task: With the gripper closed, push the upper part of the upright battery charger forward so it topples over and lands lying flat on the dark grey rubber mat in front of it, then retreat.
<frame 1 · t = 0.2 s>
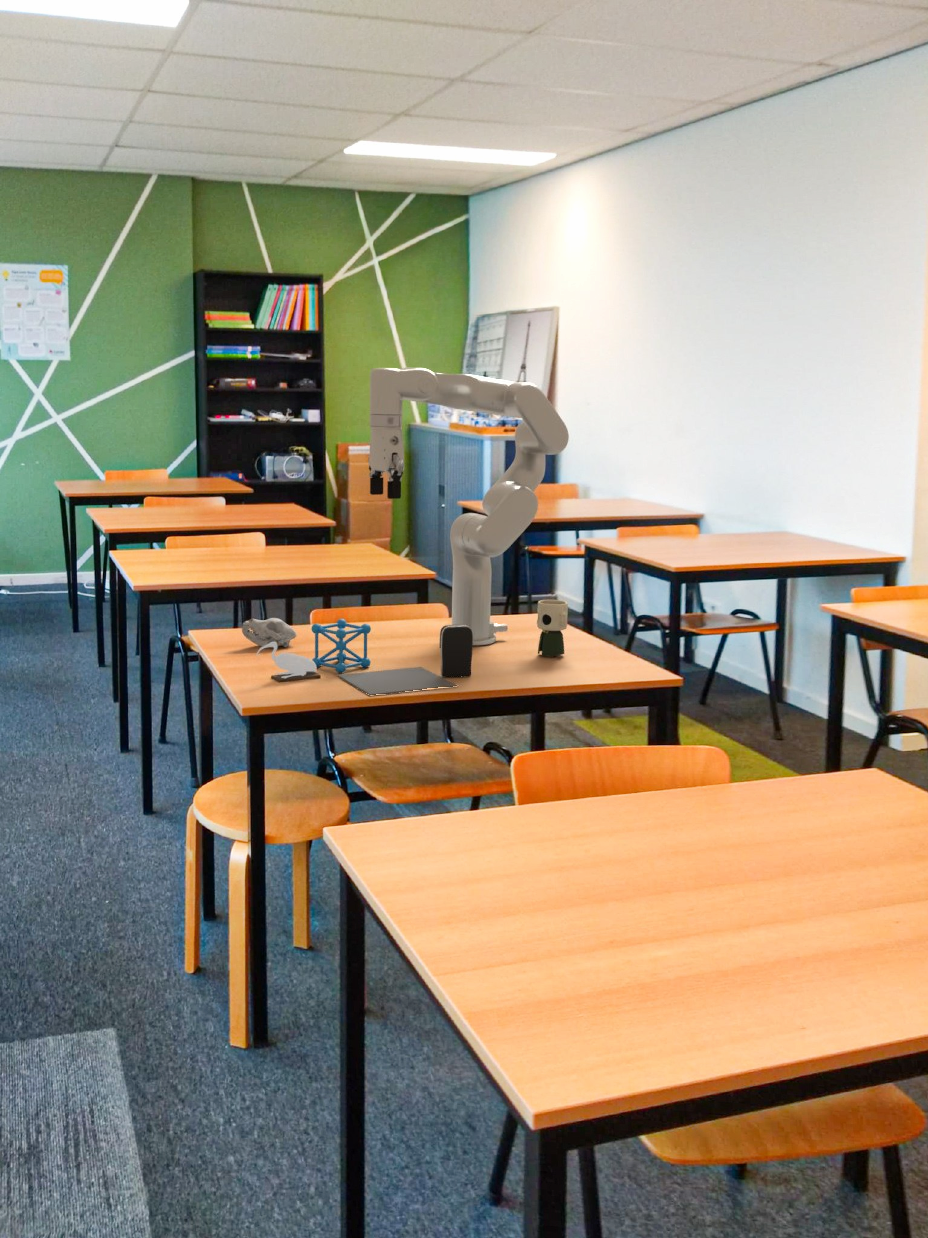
hand: (385, 496, 292), 37 cm above the table, tool pointing down, fingers open, 9 cm apart
battery charger: (454, 676, 275), on the table
mat: (396, 681, 268), on the table
character mug: (550, 656, 296), on the table
figurine: (287, 680, 269), on the table
molecular structure: (341, 668, 280), on the table
skull: (269, 647, 299), on the table
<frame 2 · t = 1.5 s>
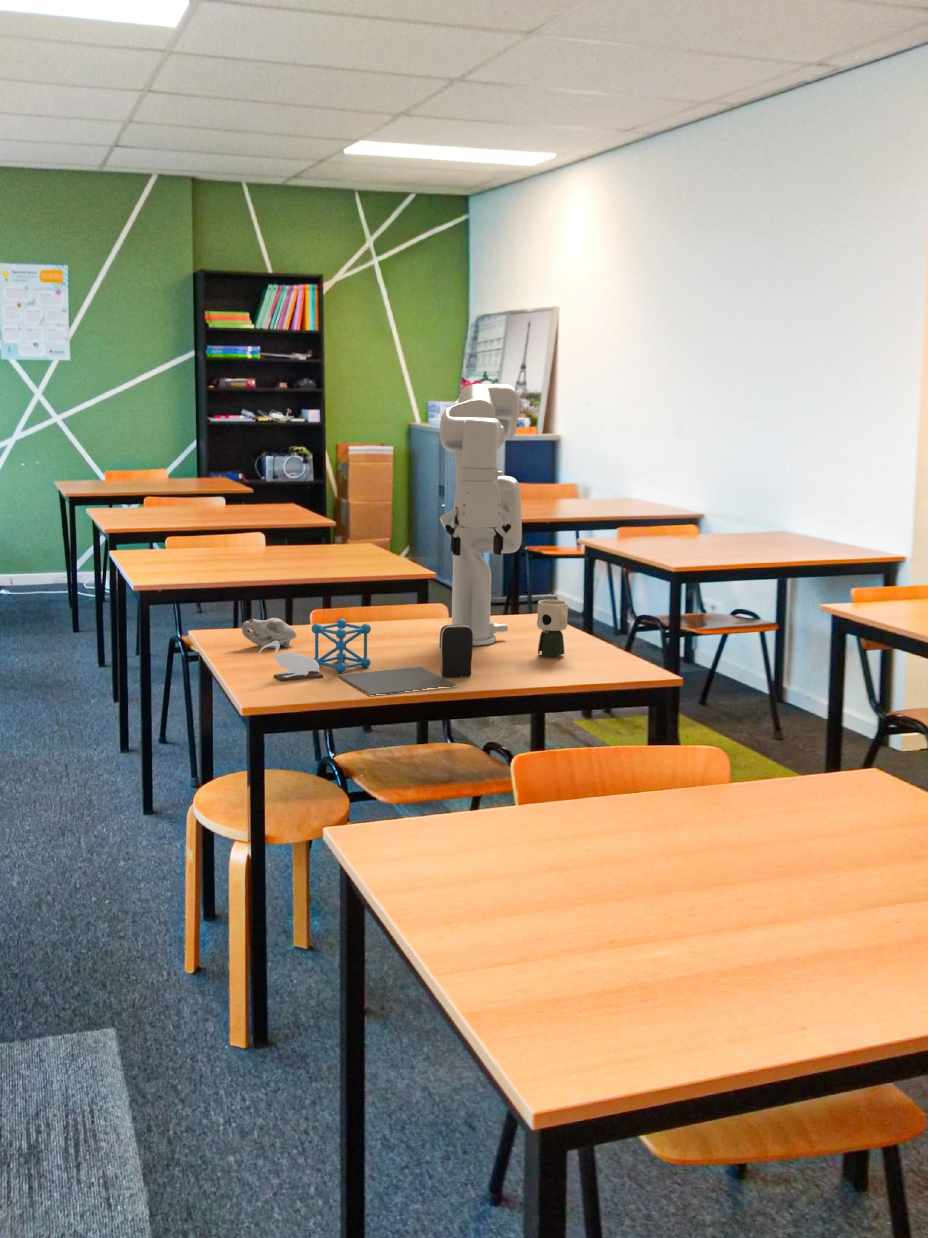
hand: (476, 554, 275), 26 cm above the table, tool pointing down, fingers open, 9 cm apart
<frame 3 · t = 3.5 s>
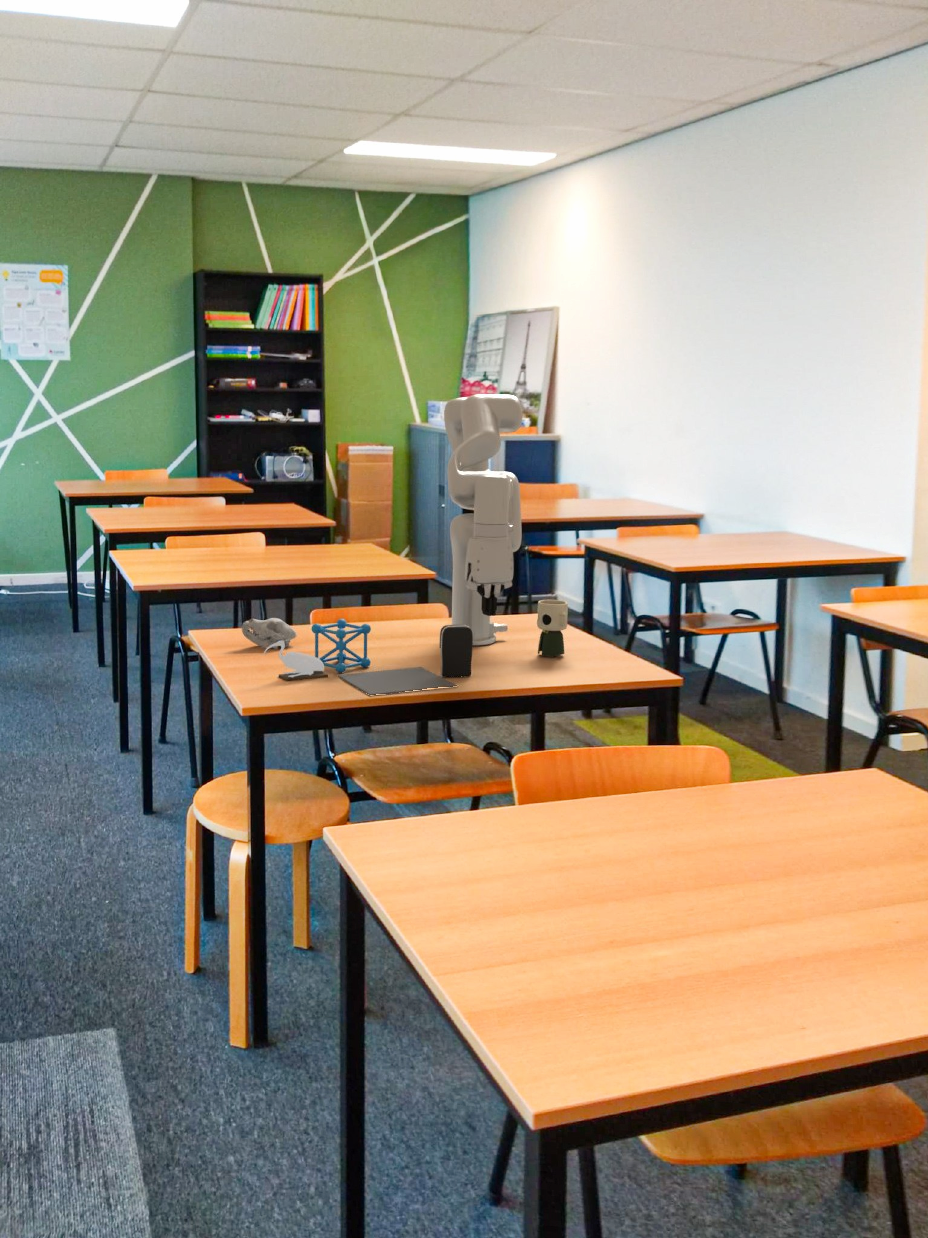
hand: (488, 614, 275), 13 cm above the table, tool pointing down, fingers closed
figurine: (294, 679, 270), on the table
everything else where it was.
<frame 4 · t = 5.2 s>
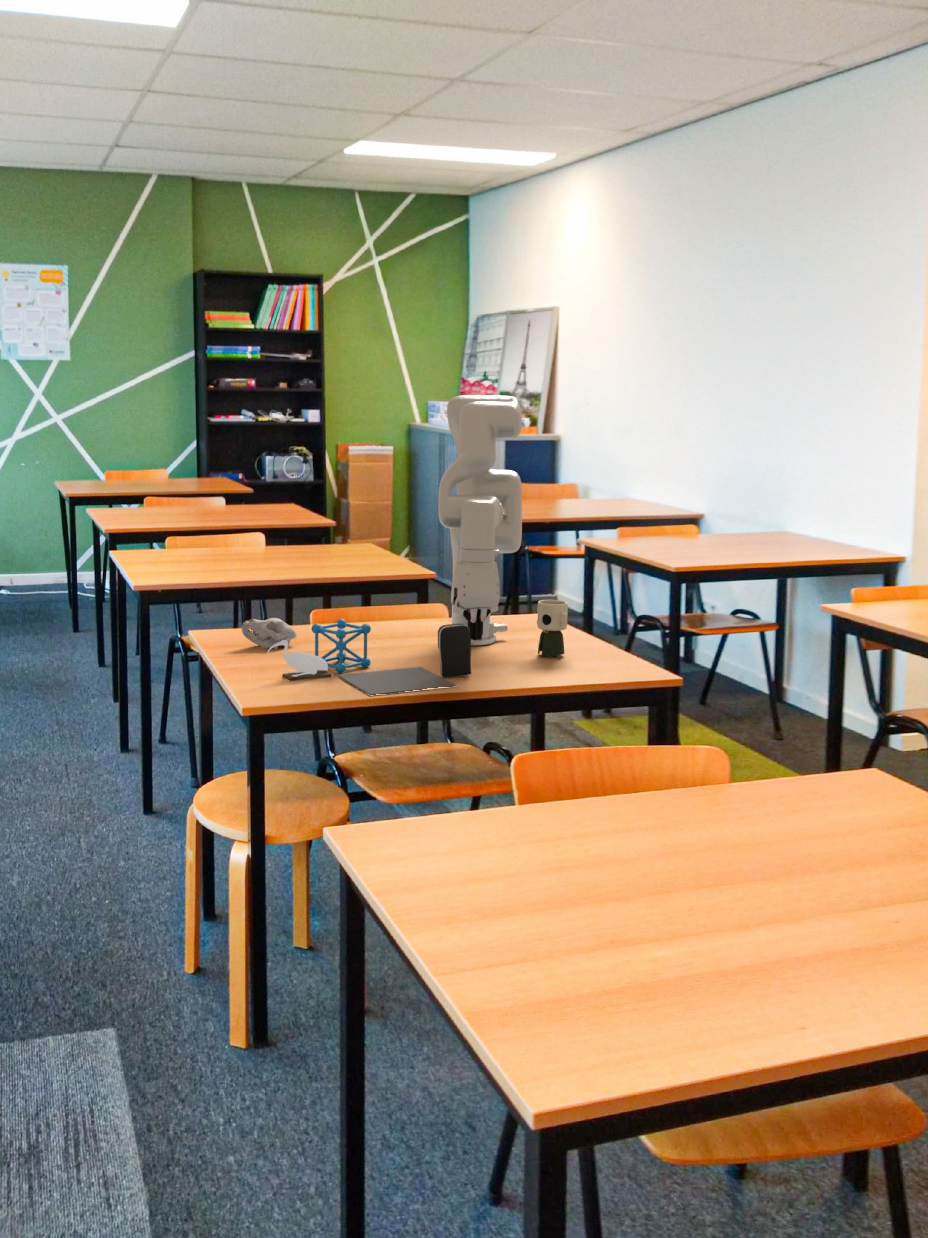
hand: (475, 638, 275), 8 cm above the table, tool pointing down, fingers closed
battery charger: (454, 675, 275), on the table, touching gripper
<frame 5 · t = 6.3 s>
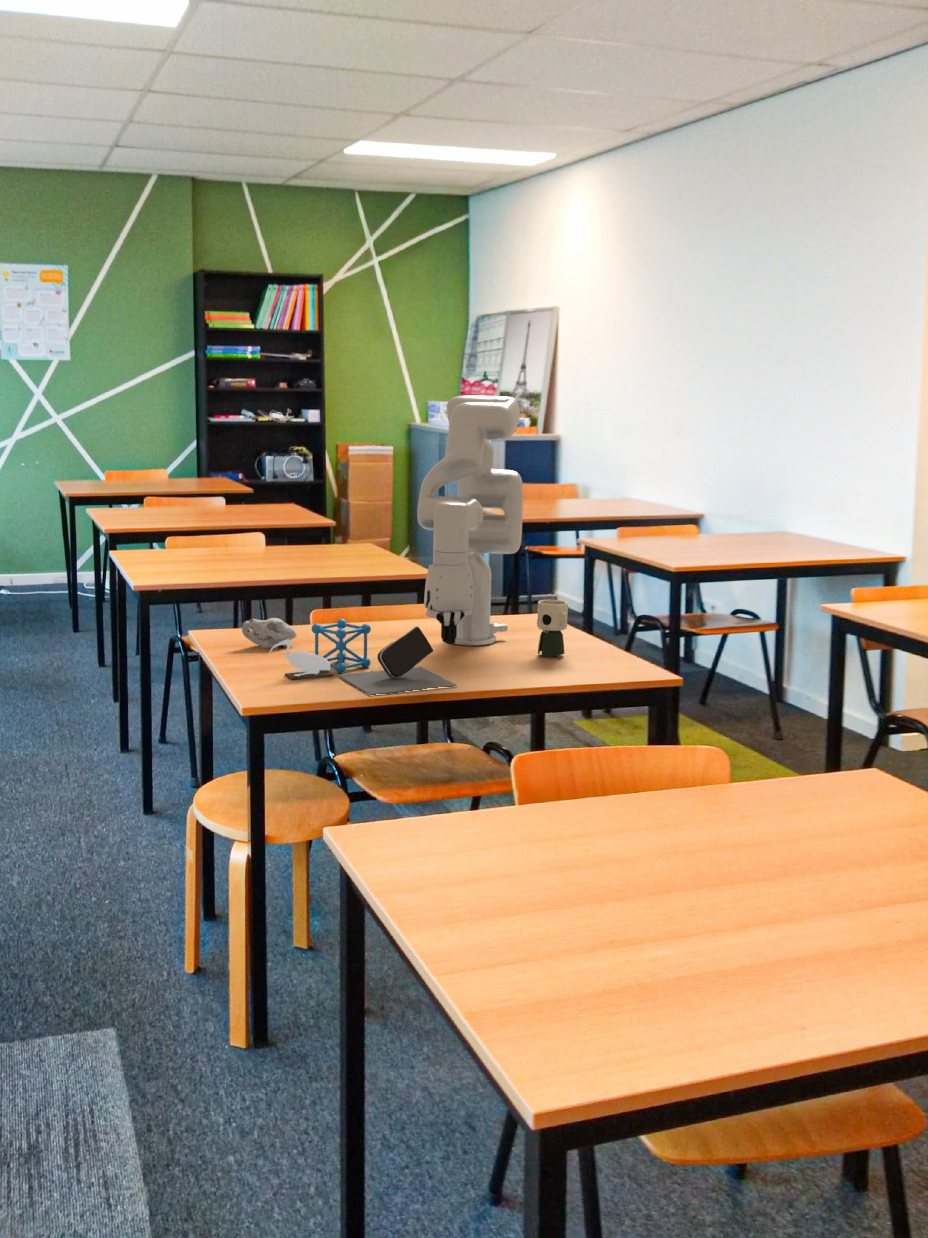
hand: (448, 642, 272), 8 cm above the table, tool pointing down, fingers closed
battery charger: (423, 638, 273), point 8 cm above the table, touching mat
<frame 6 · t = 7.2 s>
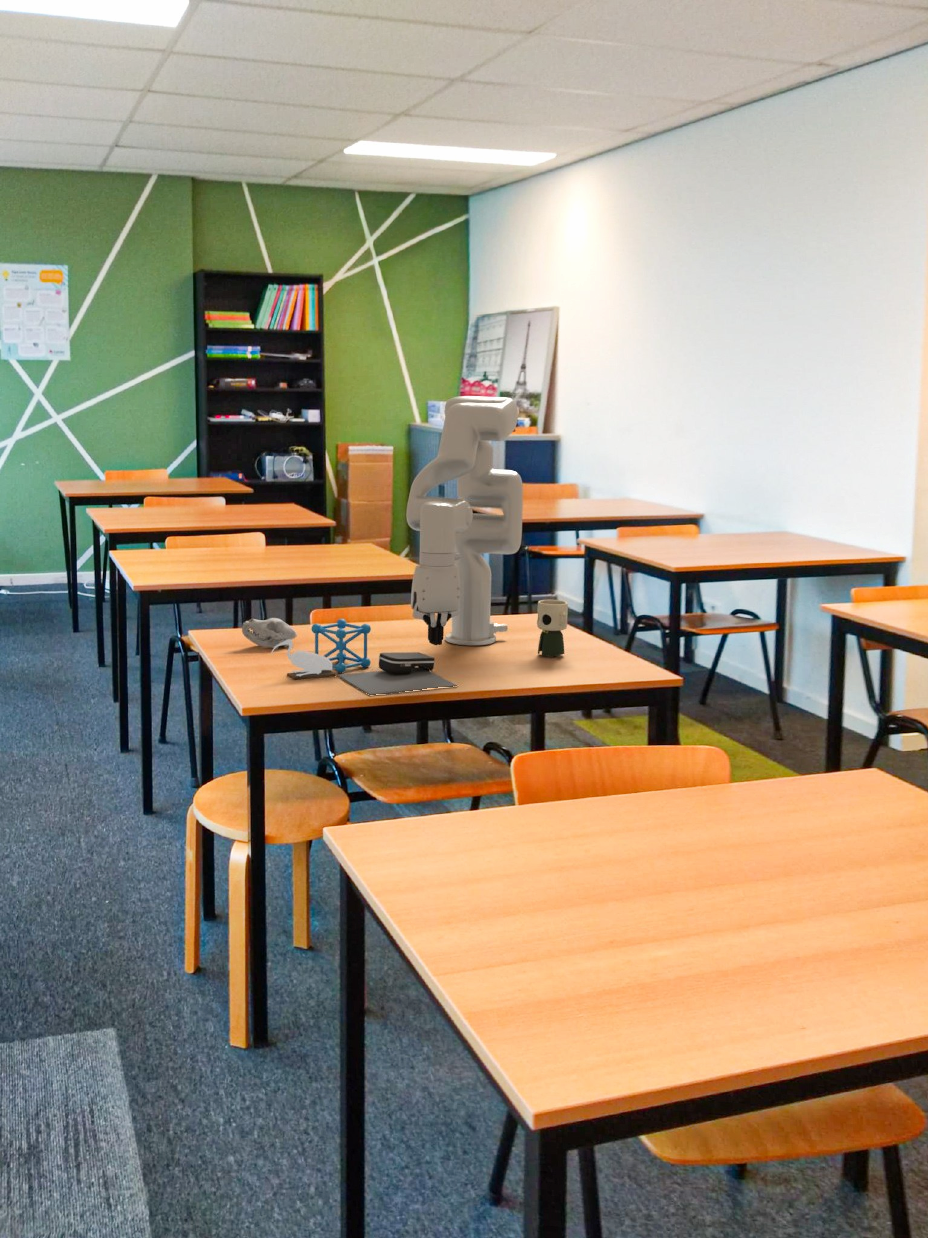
hand: (435, 643, 271), 8 cm above the table, tool pointing down, fingers closed
battery charger: (427, 663, 279), point 2 cm above the table, touching mat
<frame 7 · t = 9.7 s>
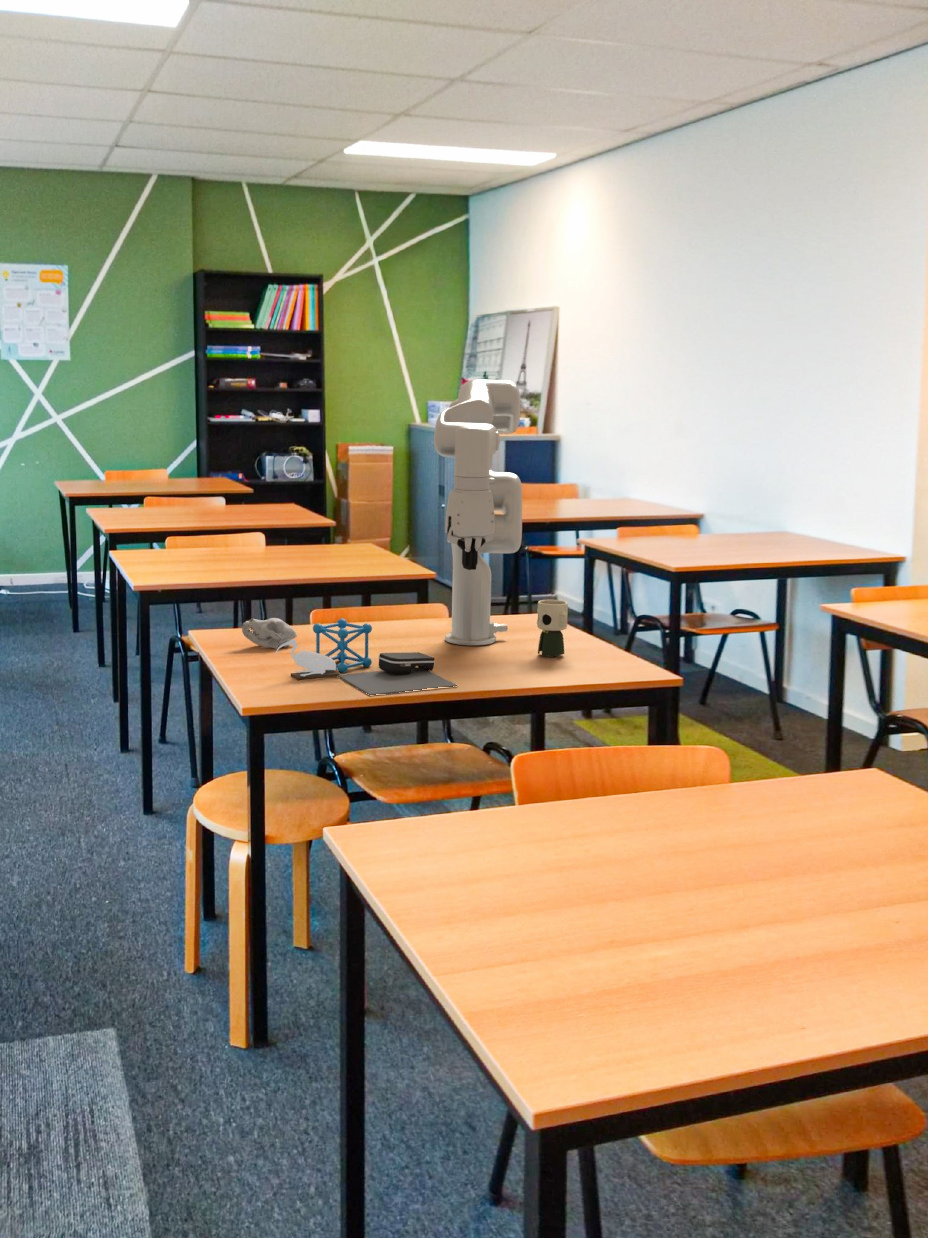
hand: (469, 568, 272), 24 cm above the table, tool pointing down, fingers closed
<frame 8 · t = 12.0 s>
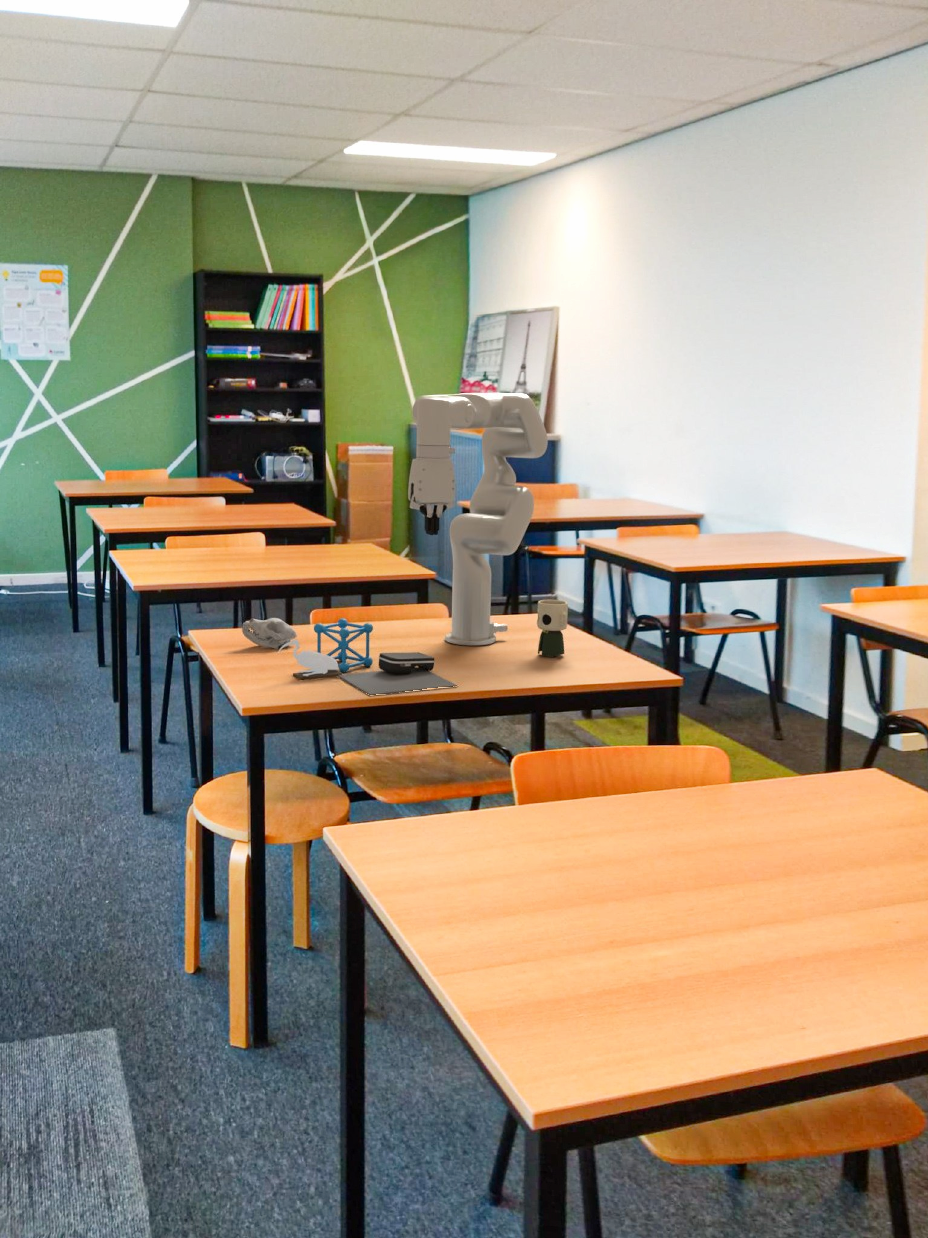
hand: (431, 534, 285), 29 cm above the table, tool pointing down, fingers closed
at the end: battery charger tilted 84°; battery charger inside the target area (11.7 cm from its centre), point 1.6 cm above the table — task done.
